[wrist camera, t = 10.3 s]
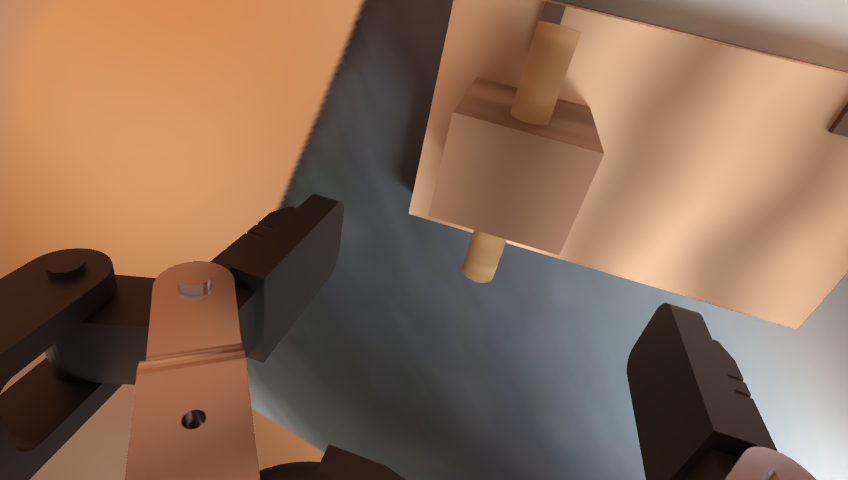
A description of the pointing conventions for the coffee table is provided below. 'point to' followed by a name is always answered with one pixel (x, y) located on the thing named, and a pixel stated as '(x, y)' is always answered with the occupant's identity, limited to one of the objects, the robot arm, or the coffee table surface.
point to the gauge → (518, 158)
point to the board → (678, 155)
